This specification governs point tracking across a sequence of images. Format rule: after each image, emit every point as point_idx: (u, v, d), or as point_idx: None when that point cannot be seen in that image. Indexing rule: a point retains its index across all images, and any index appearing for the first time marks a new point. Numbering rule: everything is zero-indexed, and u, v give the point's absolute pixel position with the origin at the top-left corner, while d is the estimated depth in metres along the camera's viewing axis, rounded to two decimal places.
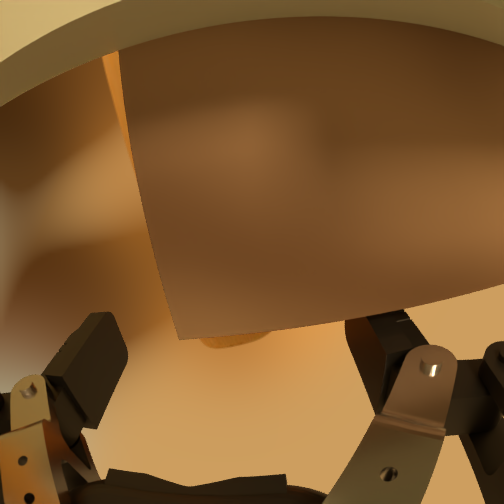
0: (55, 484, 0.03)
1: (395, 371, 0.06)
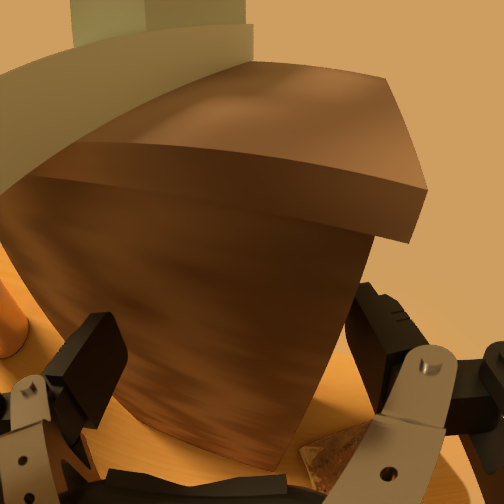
0: (55, 484, 0.03)
1: (395, 371, 0.06)
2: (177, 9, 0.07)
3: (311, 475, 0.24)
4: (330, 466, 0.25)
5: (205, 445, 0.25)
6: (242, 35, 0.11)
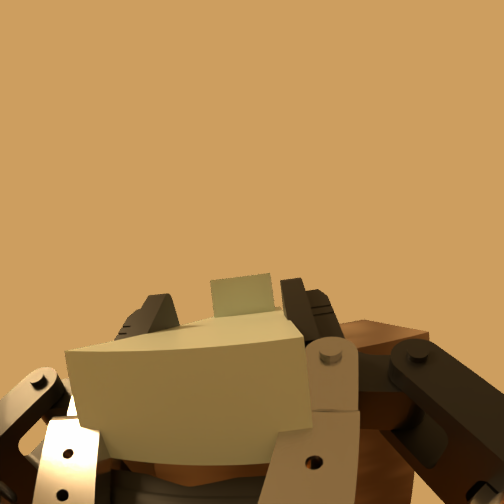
0: (96, 488, 0.03)
1: None
2: None
3: None
4: None
5: None
6: None
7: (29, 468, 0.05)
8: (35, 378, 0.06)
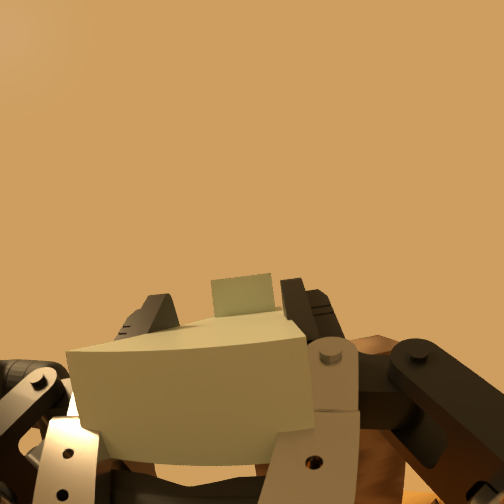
0: (96, 488, 0.03)
1: None
2: None
3: None
4: None
5: None
6: None
7: (29, 468, 0.05)
8: (36, 378, 0.06)
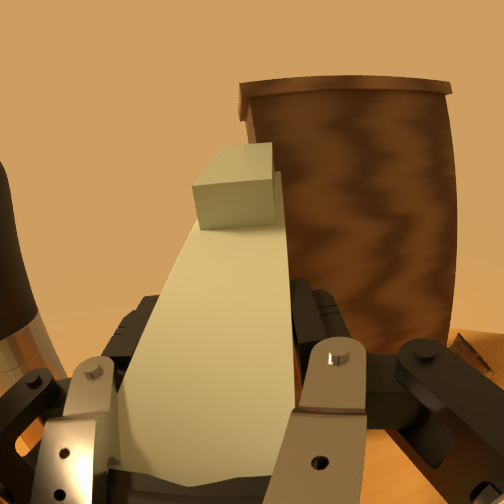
0: (93, 487, 0.03)
1: (308, 360, 0.07)
2: None
3: None
4: None
5: None
6: None
7: (26, 468, 0.04)
8: (31, 378, 0.06)
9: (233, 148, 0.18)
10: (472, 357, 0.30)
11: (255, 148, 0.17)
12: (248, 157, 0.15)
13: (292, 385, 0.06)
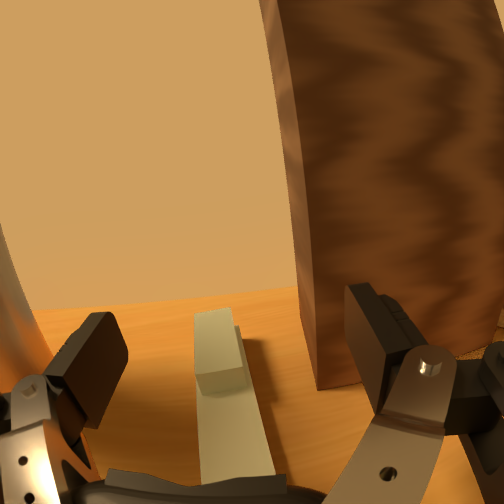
0: (56, 484, 0.03)
1: (394, 371, 0.06)
2: None
3: None
4: None
5: (436, 331, 0.19)
6: None
7: None
8: None
9: (204, 318, 0.26)
10: None
11: (220, 318, 0.25)
12: (220, 335, 0.23)
13: None
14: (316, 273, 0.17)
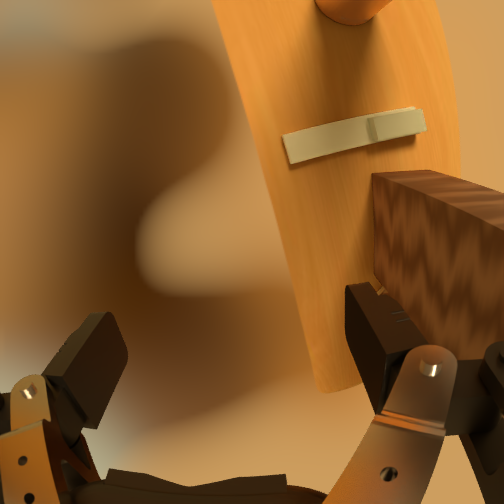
0: (55, 484, 0.03)
1: (395, 371, 0.06)
2: None
3: None
4: None
5: (382, 239, 0.41)
6: (410, 134, 0.38)
7: None
8: None
9: (417, 115, 0.35)
10: None
11: (416, 125, 0.35)
12: (402, 126, 0.35)
13: (321, 155, 0.39)
14: (400, 185, 0.33)
